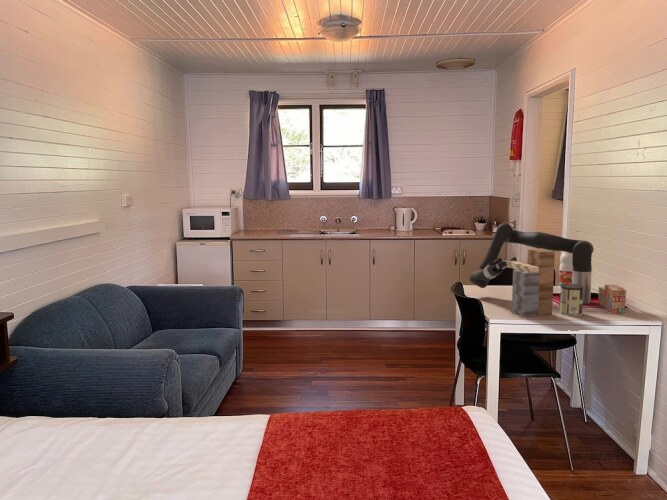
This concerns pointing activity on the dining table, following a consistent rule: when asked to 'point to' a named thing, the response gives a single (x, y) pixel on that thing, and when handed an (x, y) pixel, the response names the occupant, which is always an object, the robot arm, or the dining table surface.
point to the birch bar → (523, 267)
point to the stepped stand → (534, 286)
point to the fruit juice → (565, 269)
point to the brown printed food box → (612, 298)
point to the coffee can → (571, 299)
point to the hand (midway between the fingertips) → (508, 259)
